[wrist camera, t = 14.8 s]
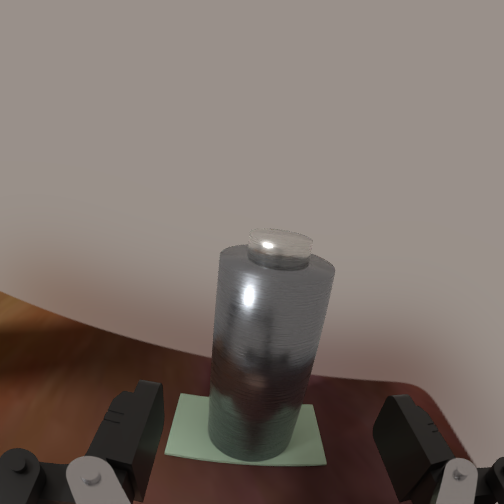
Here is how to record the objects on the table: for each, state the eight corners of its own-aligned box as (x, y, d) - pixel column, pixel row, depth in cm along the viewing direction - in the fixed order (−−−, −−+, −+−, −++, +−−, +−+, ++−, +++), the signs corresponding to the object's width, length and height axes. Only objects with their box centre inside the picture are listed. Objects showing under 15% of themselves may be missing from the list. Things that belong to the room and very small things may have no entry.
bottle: (205, 458, 15) (218, 244, 12) (210, 400, 21) (224, 219, 17) (296, 461, 16) (356, 259, 12) (285, 404, 21) (322, 230, 18)
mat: (164, 454, 15) (164, 452, 15) (180, 395, 21) (180, 393, 21) (325, 465, 16) (326, 463, 16) (312, 406, 22) (312, 404, 21)
